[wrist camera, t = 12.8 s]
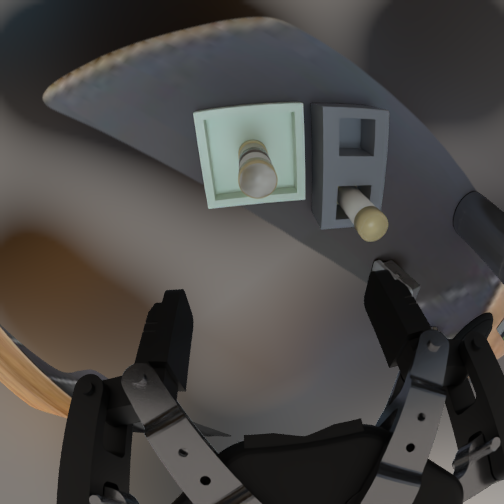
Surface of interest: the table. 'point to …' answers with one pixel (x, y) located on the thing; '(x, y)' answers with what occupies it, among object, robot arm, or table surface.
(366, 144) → the holder block
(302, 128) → the parts tray
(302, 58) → the table surface
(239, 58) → the table surface
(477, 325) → the black flat oval piece
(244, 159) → the fuse
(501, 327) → the tea box
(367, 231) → the fuse
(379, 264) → the electrical switch
